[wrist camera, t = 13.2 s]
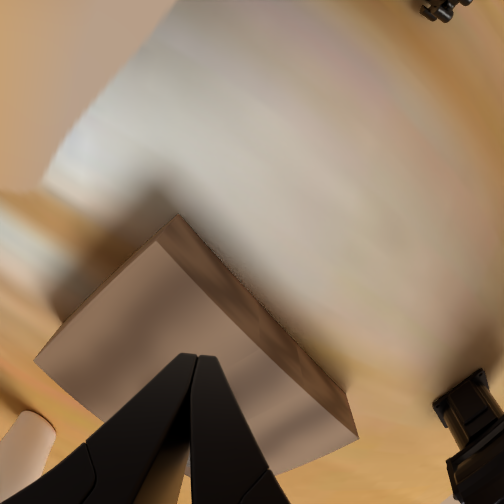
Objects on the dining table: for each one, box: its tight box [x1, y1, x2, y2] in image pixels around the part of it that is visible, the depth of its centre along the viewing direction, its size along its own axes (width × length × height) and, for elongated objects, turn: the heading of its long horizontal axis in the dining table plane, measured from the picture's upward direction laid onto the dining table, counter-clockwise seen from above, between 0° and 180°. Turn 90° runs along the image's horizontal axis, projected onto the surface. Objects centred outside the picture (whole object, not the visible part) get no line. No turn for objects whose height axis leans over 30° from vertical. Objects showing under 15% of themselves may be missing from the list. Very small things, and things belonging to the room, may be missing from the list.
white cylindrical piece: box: [0, 411, 56, 503], centre depth 21 cm, size 7×7×15 cm
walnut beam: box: [33, 214, 359, 478], centre depth 21 cm, size 20×14×5 cm
